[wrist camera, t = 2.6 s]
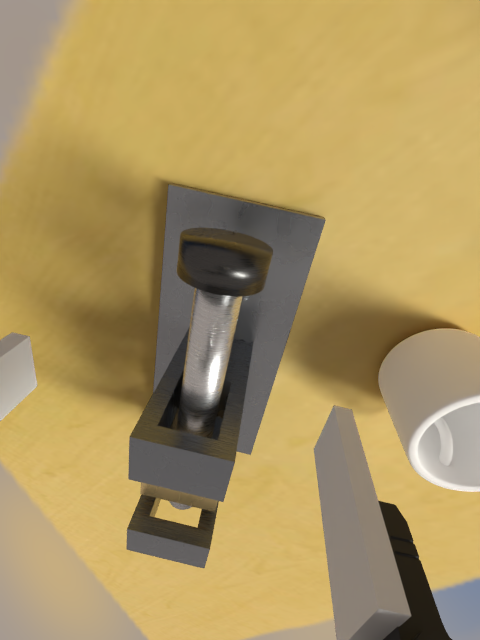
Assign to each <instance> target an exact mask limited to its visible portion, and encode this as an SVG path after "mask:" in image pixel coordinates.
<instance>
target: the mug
mask: <svg viewBox="0 0 480 640" xmlns="http://www.w3.org/2000/svg"><path fill="white" fill-rule="evenodd" d="M378 382H379V388H380V391H381V394H382V396H383V399H384V402H385V404H386V407H387V409H388V412H389V414H390V416H391V419H392V421H393V424H394V426H395V429H396V431H397V434H398V436H399V439H400V441H401V443H402V446H403V448H404V451H405V453H406V456H407V458H408V460H409V462H410V464H411V466H412V467H413V468H414V470H415V471H416V472H417V473H418V474H419V475H420V476H421V477H423V478H424V479H426V480H427V481H429V482H431V483H433V484H435V485H438V486H440V487H444V488H447V489H452V490H458V491H472V492H475V491H480V337H478V336H477V335H475V334H472V333H470V332H467V331H463V330H459V329H450V328H441V329H432V330H427V331H423V332H420V333H417V334H415V335H412V336H410V337H408V338H406V339H405V340H403V341H402V342H400V343H399V344H397V345H396V346H395V347H394V348H393V349H392V350H391V351H390V352H389V353H388V354H387V356H386V357H385V359H384V360H383V362H382V364H381V367H380V370H379V375H378Z"/></svg>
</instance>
